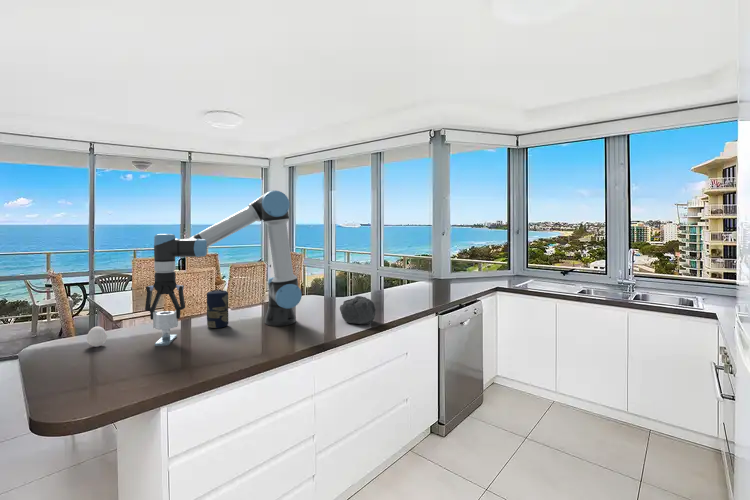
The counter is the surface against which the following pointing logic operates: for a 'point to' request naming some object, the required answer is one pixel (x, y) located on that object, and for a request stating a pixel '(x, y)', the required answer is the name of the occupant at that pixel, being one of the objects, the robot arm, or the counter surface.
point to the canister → (217, 308)
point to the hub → (164, 320)
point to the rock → (358, 310)
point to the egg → (96, 336)
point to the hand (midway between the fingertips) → (165, 326)
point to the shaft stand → (165, 338)
